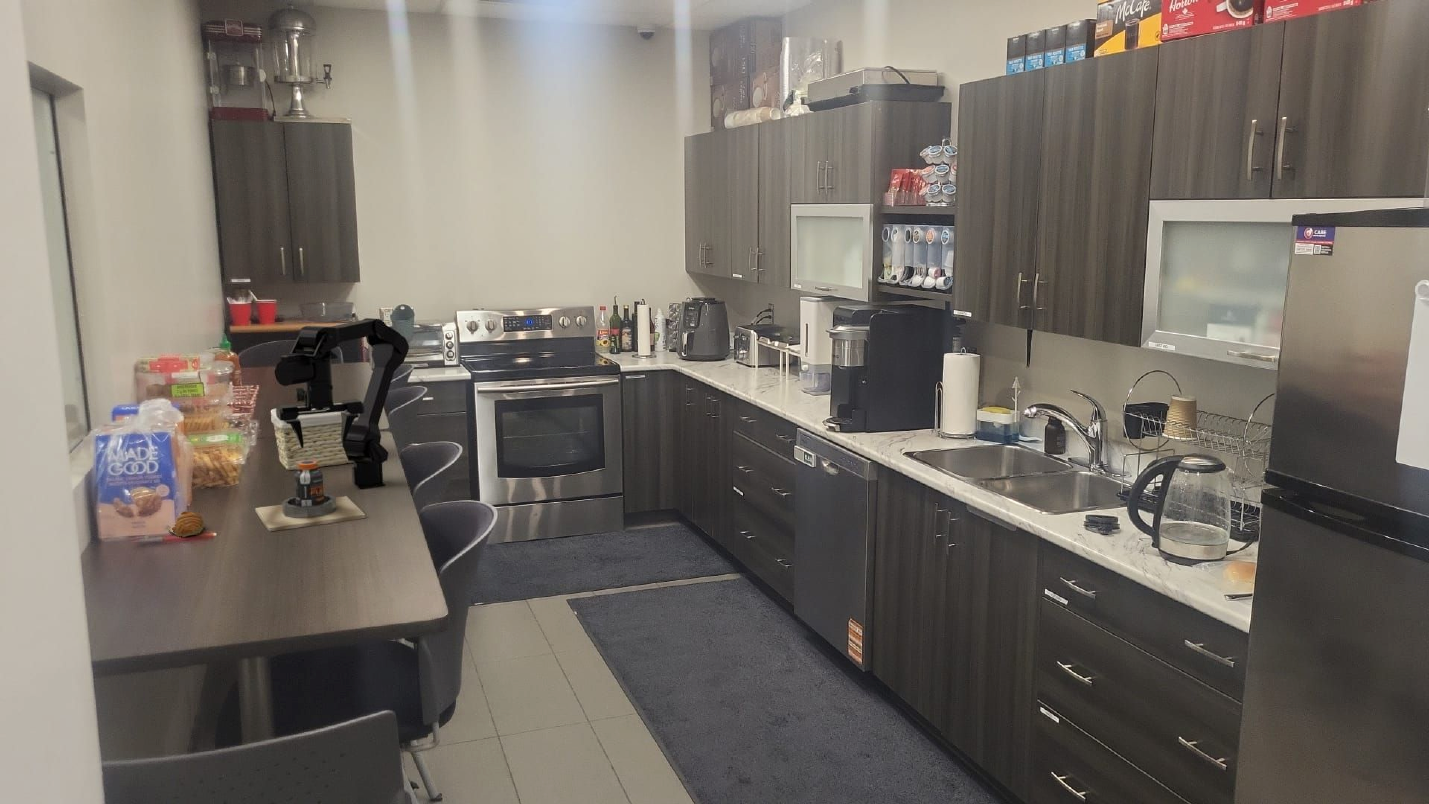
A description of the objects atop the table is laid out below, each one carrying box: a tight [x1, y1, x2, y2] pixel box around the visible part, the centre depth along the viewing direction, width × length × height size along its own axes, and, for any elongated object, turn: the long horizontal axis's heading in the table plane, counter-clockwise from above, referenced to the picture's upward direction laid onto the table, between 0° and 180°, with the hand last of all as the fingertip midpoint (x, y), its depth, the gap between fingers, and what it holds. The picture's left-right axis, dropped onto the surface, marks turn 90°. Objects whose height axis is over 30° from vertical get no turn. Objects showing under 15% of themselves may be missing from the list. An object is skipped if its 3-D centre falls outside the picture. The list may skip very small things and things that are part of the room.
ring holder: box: [255, 493, 366, 533], centre depth 234 cm, size 20×18×3 cm
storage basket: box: [270, 402, 360, 471], centre depth 284 cm, size 24×16×15 cm
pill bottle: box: [294, 461, 325, 506], centre depth 233 cm, size 6×6×11 cm
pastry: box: [172, 510, 205, 538], centre depth 220 cm, size 9×7×4 cm
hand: (322, 445), depth 245 cm, fingers open, 9 cm apart
